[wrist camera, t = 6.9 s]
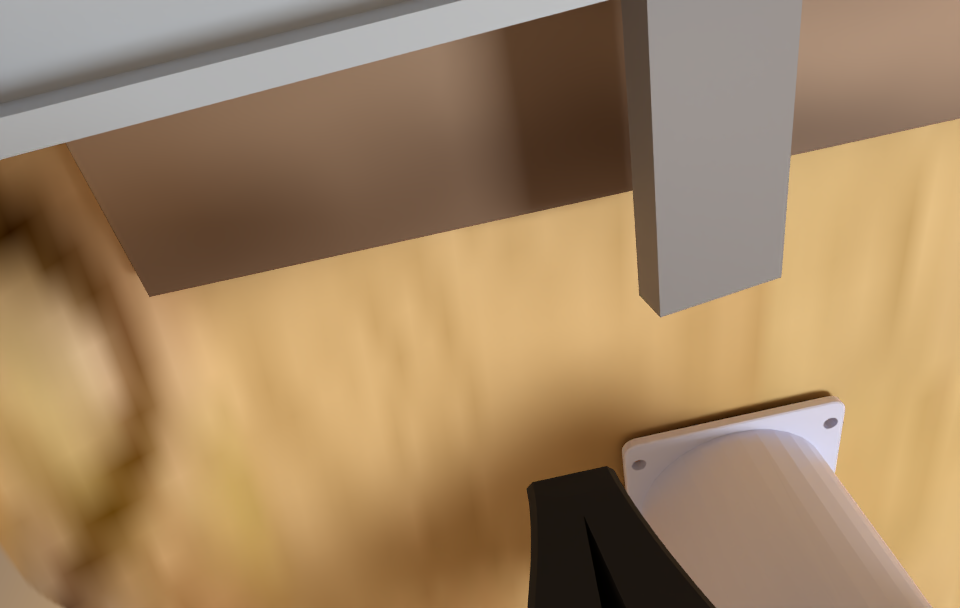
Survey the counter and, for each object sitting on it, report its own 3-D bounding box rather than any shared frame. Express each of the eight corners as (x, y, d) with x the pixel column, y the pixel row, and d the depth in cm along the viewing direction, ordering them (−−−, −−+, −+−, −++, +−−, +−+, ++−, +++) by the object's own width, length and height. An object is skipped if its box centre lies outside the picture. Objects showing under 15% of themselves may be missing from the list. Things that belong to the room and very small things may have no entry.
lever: (717, 229, 18) (826, 311, 14) (126, 417, 16) (92, 562, 12) (727, -517, 10) (954, -709, 7) (-367, -343, 8) (-773, -492, 5)
